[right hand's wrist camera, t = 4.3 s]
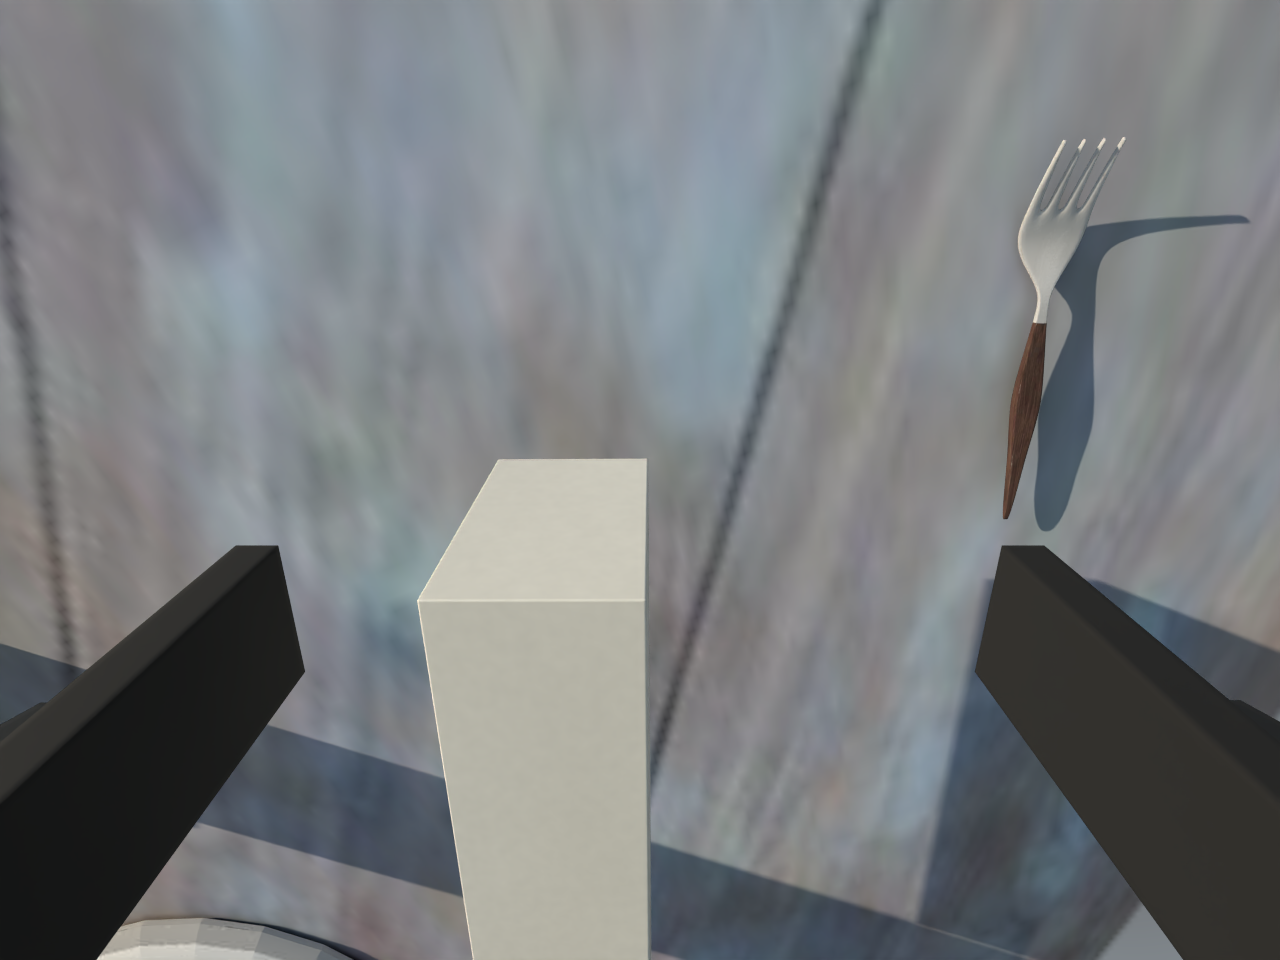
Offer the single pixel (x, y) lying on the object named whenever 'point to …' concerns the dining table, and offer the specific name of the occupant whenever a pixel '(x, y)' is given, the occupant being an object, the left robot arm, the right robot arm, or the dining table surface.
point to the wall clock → (210, 942)
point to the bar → (548, 708)
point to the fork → (1045, 295)
